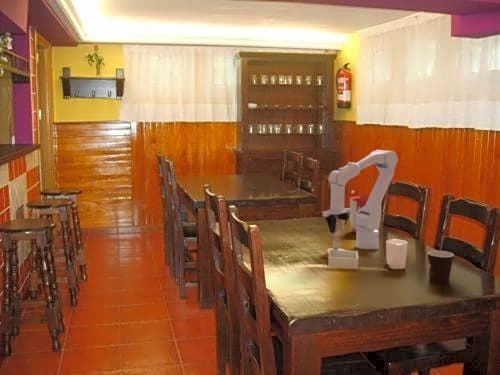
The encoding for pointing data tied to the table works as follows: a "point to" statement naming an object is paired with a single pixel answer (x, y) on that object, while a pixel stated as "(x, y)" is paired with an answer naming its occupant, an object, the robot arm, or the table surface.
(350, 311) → the table surface
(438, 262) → the coffee mug
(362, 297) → the table surface
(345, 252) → the bin
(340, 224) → the socket block
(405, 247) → the white cup
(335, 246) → the stud plate
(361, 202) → the citrus juicer
